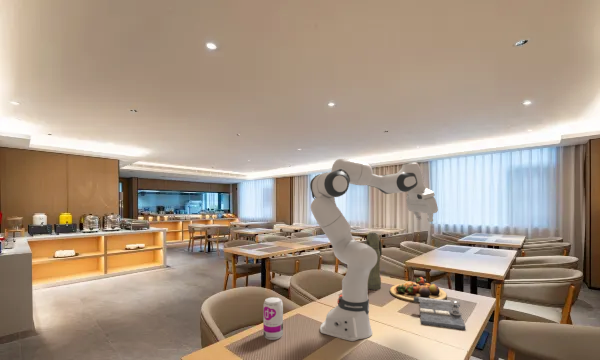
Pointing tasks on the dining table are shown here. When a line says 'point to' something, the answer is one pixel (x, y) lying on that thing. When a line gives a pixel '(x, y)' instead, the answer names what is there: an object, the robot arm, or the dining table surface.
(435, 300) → the swing bar
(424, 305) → the board
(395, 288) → the wooden plate with food
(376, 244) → the dark olive tall piece
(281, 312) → the supplement can
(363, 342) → the dining table surface
